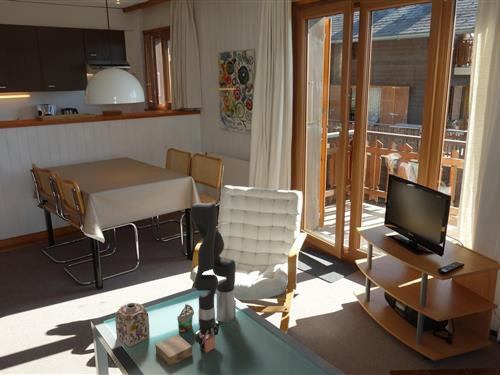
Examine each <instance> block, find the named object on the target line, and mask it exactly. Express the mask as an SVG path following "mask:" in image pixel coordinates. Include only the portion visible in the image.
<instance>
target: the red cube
mask: <svg viewBox="0 0 500 375" xmlns="http://www.w3.org/2000/svg"><path fill="white" fill-rule="evenodd" d="M203 336H204V335H203ZM215 337H216V336H215ZM215 337H214V336H212V335H211V334H208V335H207V337H206V339H205V342H204V343H205V349H204V350H203V352H205V353H208V352H210V351H212V350H214V349H215V348H216V344H215V343H216V338H215ZM202 339H203V338H202Z"/></svg>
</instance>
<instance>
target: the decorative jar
mask: <svg viewBox="0 0 500 375" xmlns="http://www.w3.org/2000/svg"><path fill="white" fill-rule="evenodd" d="M114 318H115V331H116V332H115V333H116V338H117V339H118V340H119V341H120V342H122V343H123V344H124V345H126V346H127V347H128V348H131V347H133V346H136V345H138V344H139V343H141V342H143V341H145V340H147V339H149V338H150V337H151V336H150V334H151V333H150V322H149V320H150V319H149V312H148V311H147V309H146V308H145V307H144V306H143V305H142V304H140V303H135V302H129V303H126V304H123V305H122V306H120V308H119V309H118V310H117V311H116V312H115V313H114Z"/></svg>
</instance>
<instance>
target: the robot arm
mask: <svg viewBox="0 0 500 375" xmlns="http://www.w3.org/2000/svg"><path fill="white" fill-rule="evenodd" d="M190 217H191V220H192V223H193V224H194V226H195V228H196V229H197V231H198V233H199V236H200V237H201V240H202V242H201V244H200V246H199V248H198V250H197V271H196V276H195V277H194V278H195V279H194V281H193V282H194V284H193V285H194V288H195V290H196V291H197V292H198V291H199V292H201V293H200V294H199V295H198V326H199V328H198V330H197V331H194V332H193V336H194V339H195V342H196V343H198V344H199V348H200V349H201V350H202V351H204V349H205V343H204V342H205V339H206V337H207V335H208V334H211V335H212V336H214V337H216V336H218V335H219V329H220V325H221V324H220V322H222V323H229V322H232V321H233V320H234V319H235V317H236V316H237V314H236V313H237V312H236V311H237V309H236V308H237V307H236V306H237V304H236V302H237V300H236V299H235V281H236V266H237V265H236V261H235V260H233V259H230V258H223V257H221V254H222V252H223V251H224V248H225V241H224V239H223V236H222V234H221V233H220V231H219V230H218V229H217V225H218V207H217V205H216V204H215V203H210V202H209V203H207V202H196V203H193V204H192V205H191V208H190ZM208 271H212V272H213V274H204V273H205V272H208ZM218 277H220V278H222V279H220V280H218V279H219V278H218ZM202 291H204V292H202ZM215 296H216V308H215ZM216 320H217V321H216ZM218 321H219V322H218ZM203 335H204V336H203ZM202 338H203V339H202Z"/></svg>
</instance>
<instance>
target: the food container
mask: <svg viewBox="0 0 500 375" xmlns="http://www.w3.org/2000/svg"><path fill="white" fill-rule="evenodd" d="M194 311H195V310H194V308H193V307H192V306H191V305H190V304H187V303H186V304H185V306H184V308H183V309H182V310H181V312H180V313H179V315H177V318H176V320H177V324H178V325H177V326H178V327H177V328H178V333H179V334H185V333H188V332H189V331H191V330H192V328H193V317H194V315H195V312H194Z"/></svg>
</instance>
